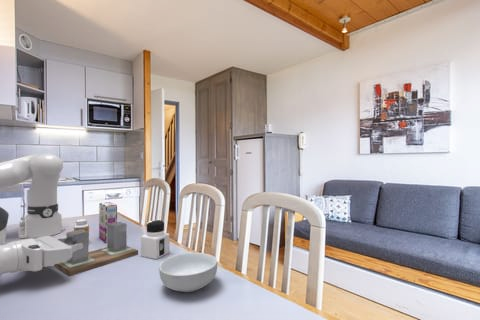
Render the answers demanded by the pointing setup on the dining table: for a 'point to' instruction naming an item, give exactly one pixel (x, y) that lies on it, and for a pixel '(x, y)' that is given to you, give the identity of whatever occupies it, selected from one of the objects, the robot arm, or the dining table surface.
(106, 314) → the dining table surface
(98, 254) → the wooden board
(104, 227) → the candy bar box
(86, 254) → the loose billet
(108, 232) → the billet
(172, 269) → the cereal bowl
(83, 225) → the supplement bottle
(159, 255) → the container
